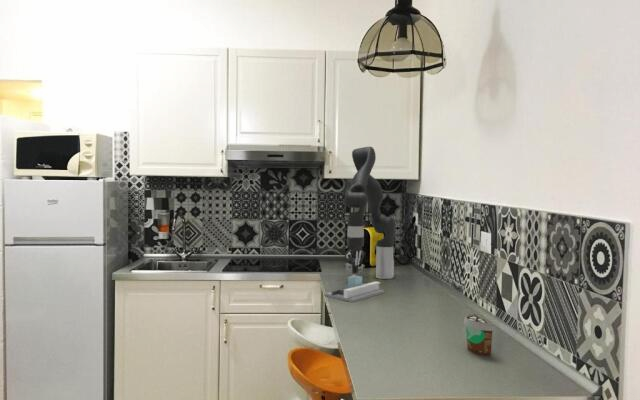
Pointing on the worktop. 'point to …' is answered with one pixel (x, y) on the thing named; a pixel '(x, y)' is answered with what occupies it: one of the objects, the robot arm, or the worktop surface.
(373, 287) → the rail mount
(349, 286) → the block
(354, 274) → the mechanical component
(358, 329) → the worktop surface
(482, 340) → the food container
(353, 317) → the worktop surface
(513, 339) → the worktop surface
